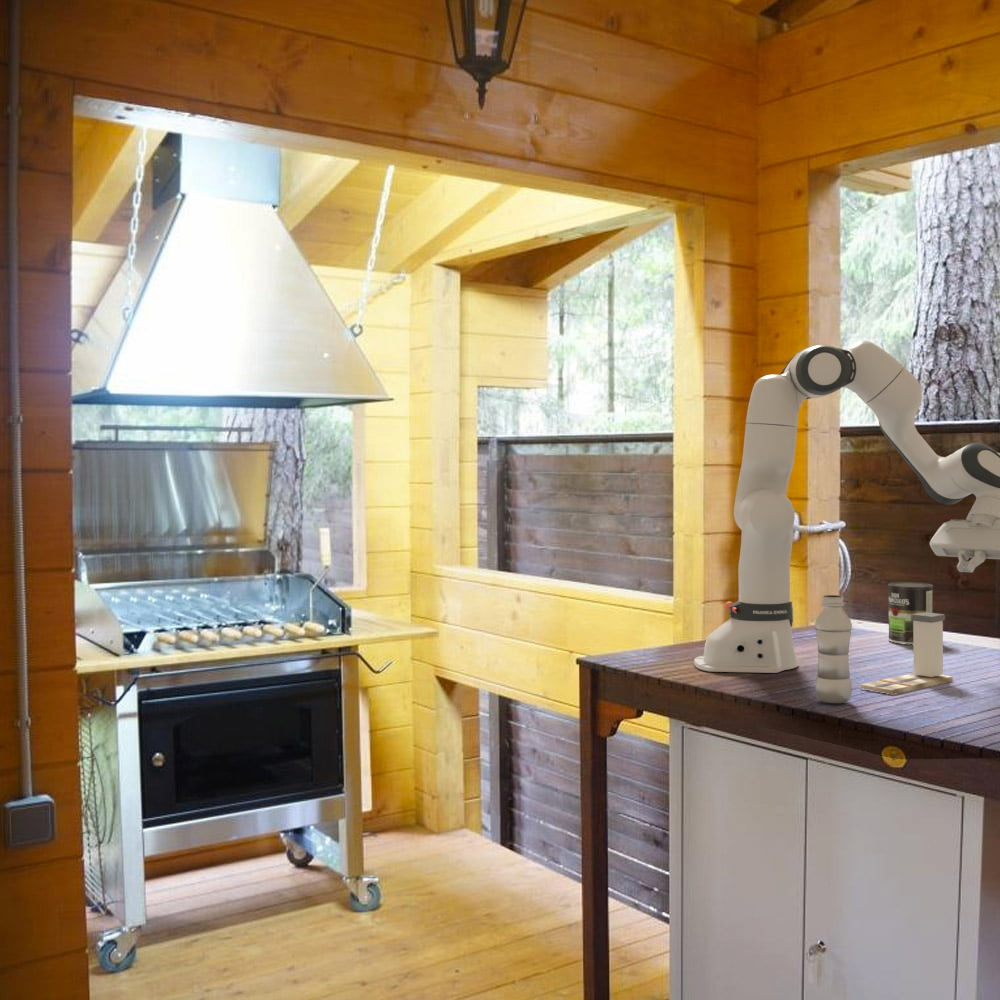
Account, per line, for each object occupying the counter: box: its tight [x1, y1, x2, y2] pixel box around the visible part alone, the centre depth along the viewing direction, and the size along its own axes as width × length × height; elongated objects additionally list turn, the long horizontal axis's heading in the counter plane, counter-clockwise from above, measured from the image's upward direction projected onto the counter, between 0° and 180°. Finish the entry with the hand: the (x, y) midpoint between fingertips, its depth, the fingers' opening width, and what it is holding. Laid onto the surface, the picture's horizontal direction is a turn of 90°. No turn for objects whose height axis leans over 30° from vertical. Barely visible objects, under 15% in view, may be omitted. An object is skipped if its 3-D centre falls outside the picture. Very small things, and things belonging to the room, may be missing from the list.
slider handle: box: [911, 612, 946, 677], centre depth 226 cm, size 5×5×12 cm
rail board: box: [860, 672, 954, 695], centre depth 222 cm, size 20×7×1 cm, turn 125°
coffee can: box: [887, 581, 934, 644], centre depth 272 cm, size 10×10×14 cm
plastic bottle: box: [814, 594, 853, 704], centre depth 207 cm, size 6×7×20 cm
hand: (964, 570), depth 232 cm, fingers closed
